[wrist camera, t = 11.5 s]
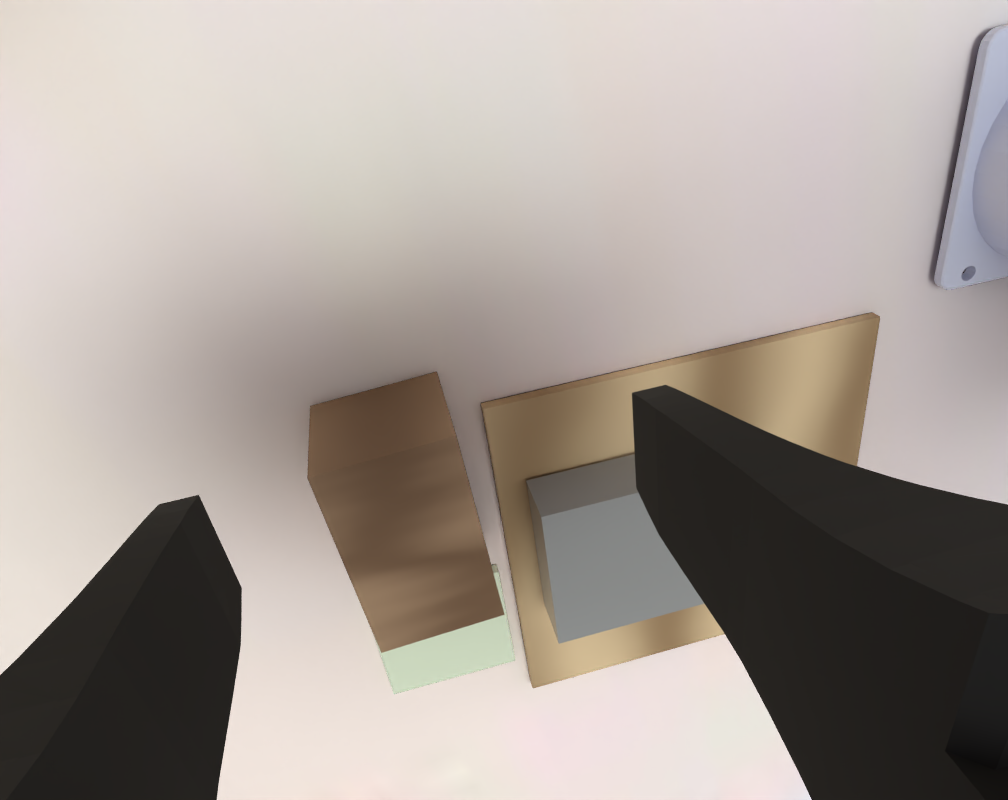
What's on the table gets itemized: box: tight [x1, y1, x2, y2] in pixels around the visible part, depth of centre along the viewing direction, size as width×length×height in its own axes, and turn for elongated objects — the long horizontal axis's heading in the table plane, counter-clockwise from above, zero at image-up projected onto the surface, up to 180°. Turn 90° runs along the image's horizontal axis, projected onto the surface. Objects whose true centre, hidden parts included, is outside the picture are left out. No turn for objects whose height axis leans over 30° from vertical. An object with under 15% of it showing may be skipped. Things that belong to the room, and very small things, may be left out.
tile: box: [526, 454, 704, 644], centre depth 25 cm, size 8×2×6 cm
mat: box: [481, 313, 880, 688], centre depth 27 cm, size 14×14×1 cm
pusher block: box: [307, 372, 505, 653], centre depth 22 cm, size 4×4×7 cm
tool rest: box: [374, 565, 515, 694], centre depth 27 cm, size 5×5×1 cm
